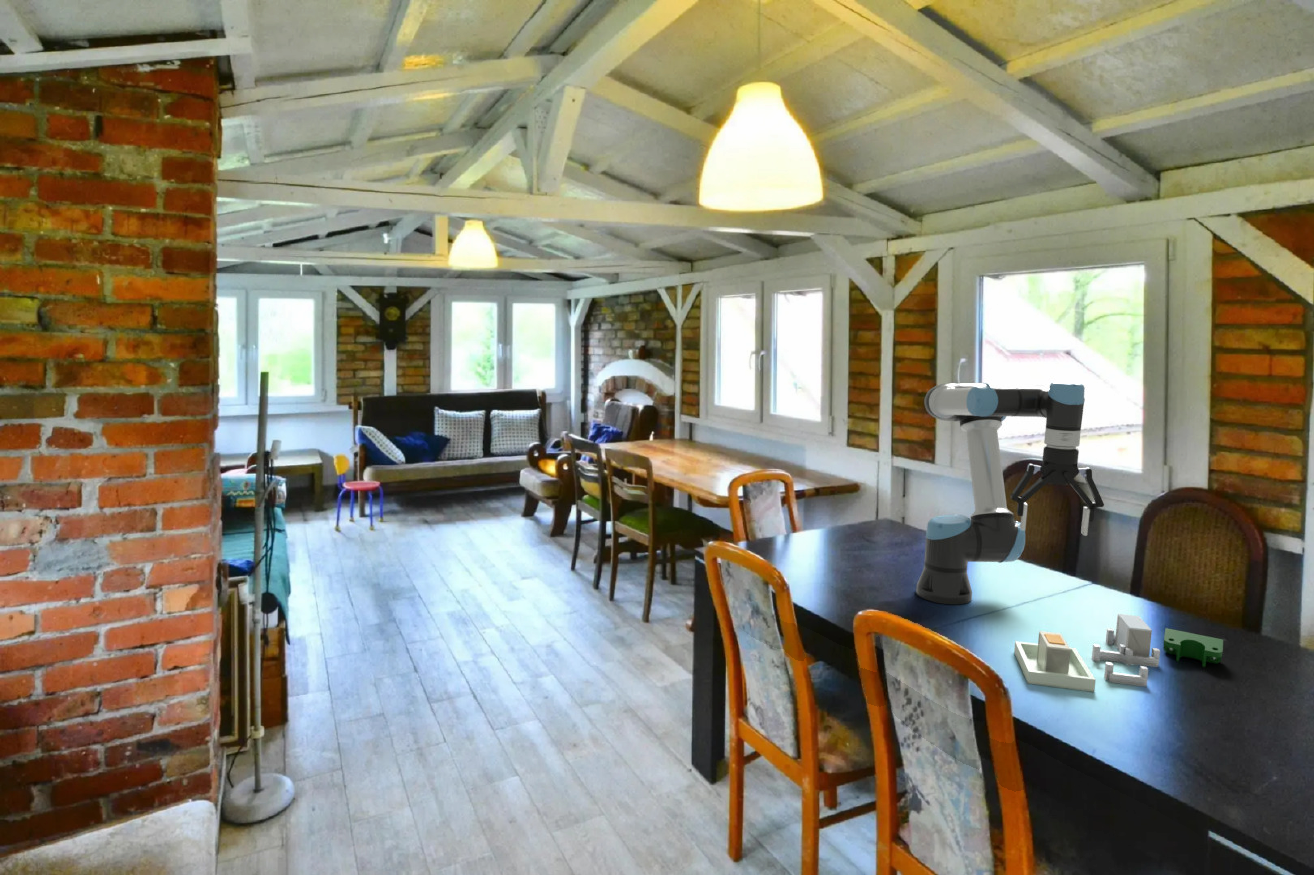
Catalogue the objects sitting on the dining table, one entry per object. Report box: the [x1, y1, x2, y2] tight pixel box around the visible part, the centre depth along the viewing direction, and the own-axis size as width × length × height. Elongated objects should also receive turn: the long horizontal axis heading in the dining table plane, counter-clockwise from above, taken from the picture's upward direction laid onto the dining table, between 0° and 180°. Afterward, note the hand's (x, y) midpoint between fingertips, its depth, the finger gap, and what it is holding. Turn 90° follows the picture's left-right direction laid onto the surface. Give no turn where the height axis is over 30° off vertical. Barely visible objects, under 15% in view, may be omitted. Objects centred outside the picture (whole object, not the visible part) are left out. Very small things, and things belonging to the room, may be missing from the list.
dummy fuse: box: [1114, 613, 1153, 656], centre depth 179 cm, size 5×9×8 cm, turn 164°
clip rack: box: [1091, 628, 1161, 688], centre depth 175 cm, size 14×26×4 cm, turn 164°
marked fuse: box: [1037, 630, 1071, 674], centre depth 170 cm, size 5×9×7 cm, turn 164°
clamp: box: [1163, 627, 1224, 668], centre depth 176 cm, size 12×6×9 cm, turn 46°
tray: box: [1013, 640, 1096, 693], centre depth 170 cm, size 13×17×3 cm
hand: (1052, 531), depth 184 cm, fingers open, 13 cm apart
